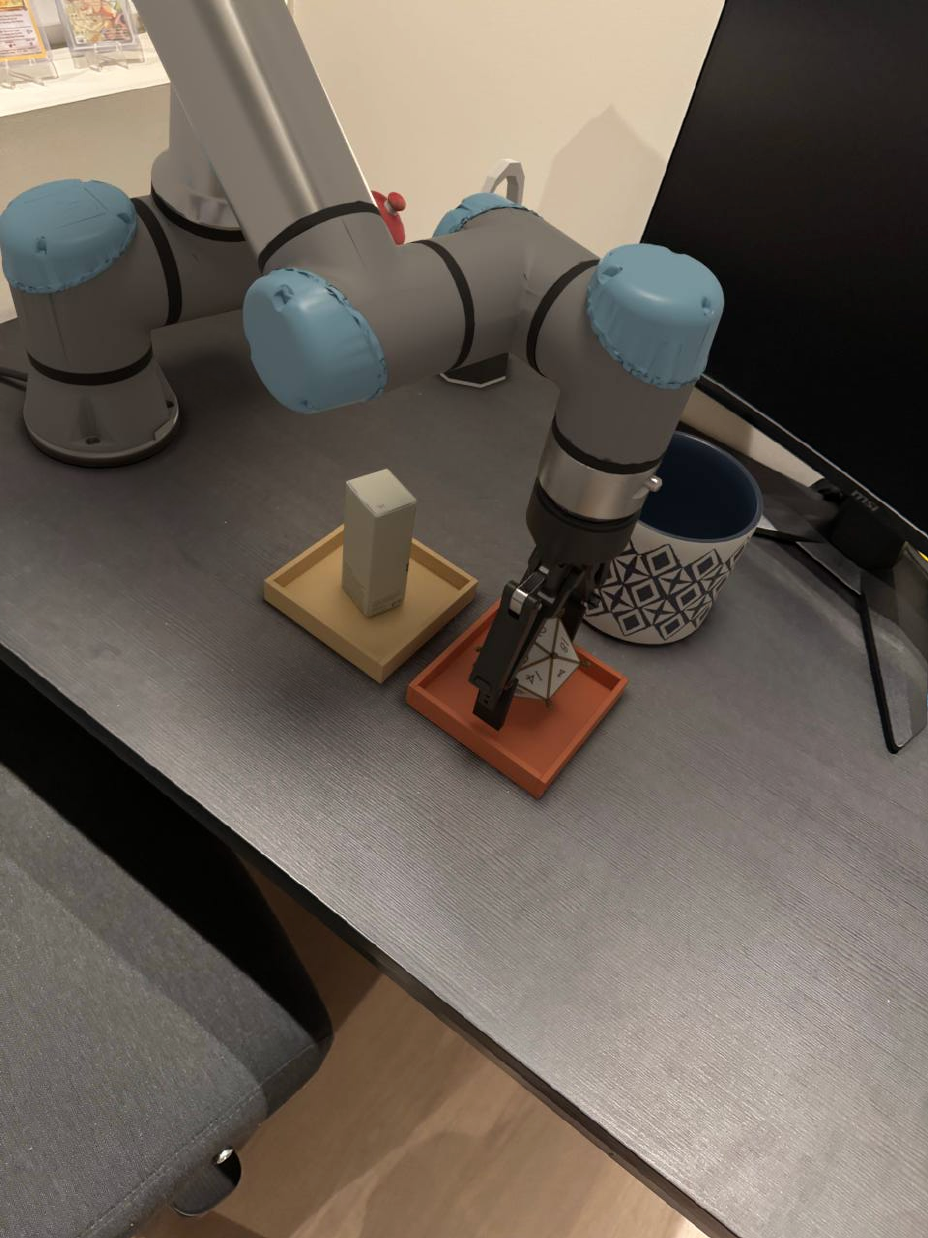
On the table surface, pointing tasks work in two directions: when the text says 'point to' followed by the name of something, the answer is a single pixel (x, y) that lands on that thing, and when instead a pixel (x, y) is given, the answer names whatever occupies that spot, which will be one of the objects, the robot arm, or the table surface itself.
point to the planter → (680, 545)
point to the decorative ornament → (392, 213)
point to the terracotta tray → (516, 711)
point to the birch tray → (337, 621)
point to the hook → (497, 365)
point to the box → (377, 541)
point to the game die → (547, 663)
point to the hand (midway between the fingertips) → (521, 682)
